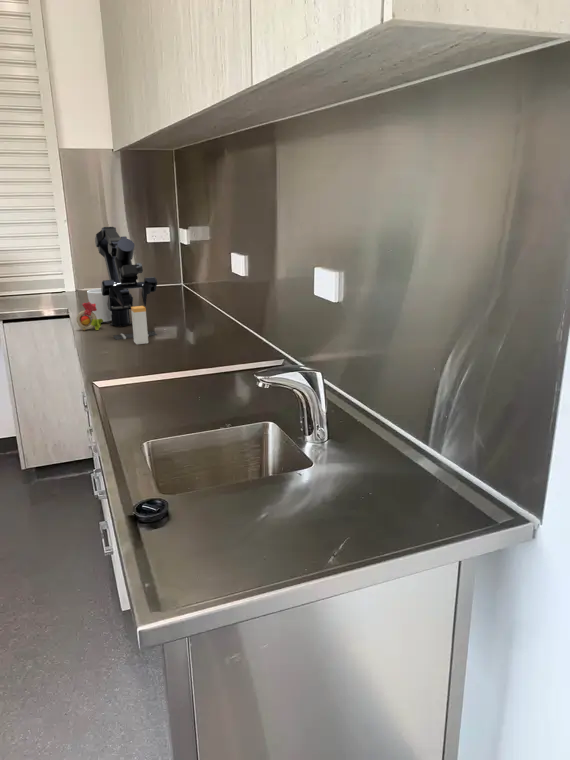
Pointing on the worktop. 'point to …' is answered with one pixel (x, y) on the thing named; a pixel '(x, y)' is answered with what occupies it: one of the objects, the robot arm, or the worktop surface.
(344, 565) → the worktop surface
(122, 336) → the cord bundle
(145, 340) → the orange-topped grey block
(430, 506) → the worktop surface
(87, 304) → the bird rattle
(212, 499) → the worktop surface
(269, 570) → the worktop surface
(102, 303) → the cup
